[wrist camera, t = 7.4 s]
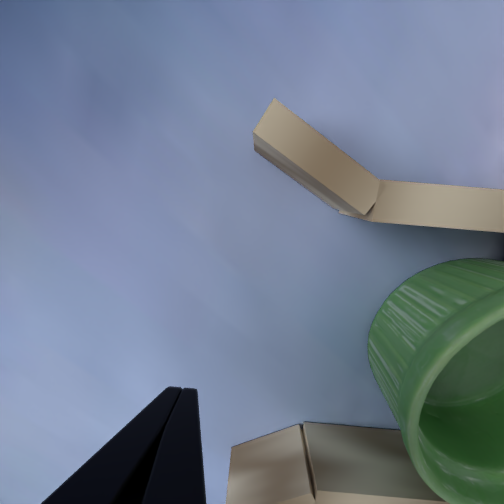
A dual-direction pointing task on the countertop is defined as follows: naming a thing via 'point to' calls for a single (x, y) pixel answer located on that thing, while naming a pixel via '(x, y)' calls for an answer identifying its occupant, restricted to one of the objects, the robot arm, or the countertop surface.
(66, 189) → the countertop surface
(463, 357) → the ramekin
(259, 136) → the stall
